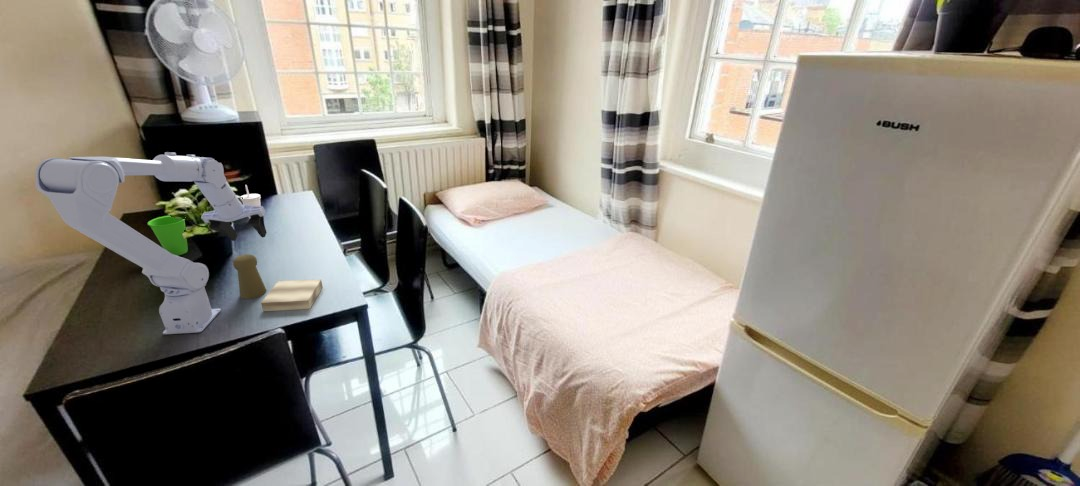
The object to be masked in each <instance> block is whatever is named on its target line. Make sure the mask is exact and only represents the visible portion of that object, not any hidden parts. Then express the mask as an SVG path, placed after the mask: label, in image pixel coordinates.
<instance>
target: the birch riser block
mask: <svg viewBox="0 0 1080 486" xmlns="http://www.w3.org/2000/svg"><path fill="white" fill-rule="evenodd" d="M322 289H323V283H322V279H320V278H319V279H301V280H300V279H297V280H295V279H294V280H278V281H277V282H276V283H275V284H274V286H273V287H272V288H271V289H270V290H269V292H268V293H267V294H266V296H264V297H263V299H262V301H261V302H260V306H261V308H262V311H263V312H273V311H274V312H275V311H276V312H277V311H278V312H279V311H293V310H311V308H312V306H313V305H314V303H315V301H316V299H317V298H318V296H319V295H320V292H321V291H322Z"/></svg>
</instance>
